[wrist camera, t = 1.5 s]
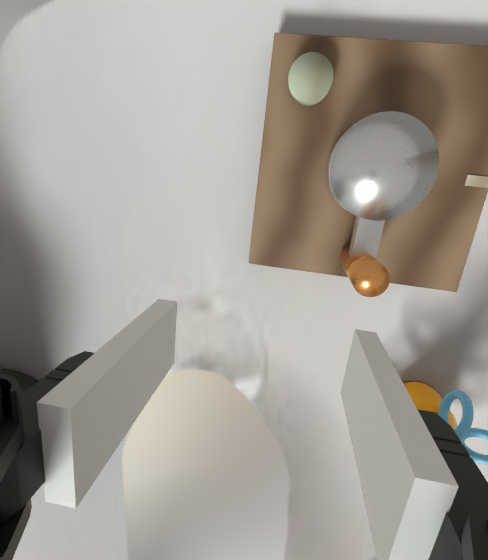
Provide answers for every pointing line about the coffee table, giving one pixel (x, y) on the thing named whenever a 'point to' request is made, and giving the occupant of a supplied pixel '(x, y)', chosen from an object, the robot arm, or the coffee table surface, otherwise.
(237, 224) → the coffee table surface
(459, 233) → the base
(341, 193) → the knob
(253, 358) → the coffee table surface
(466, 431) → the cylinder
